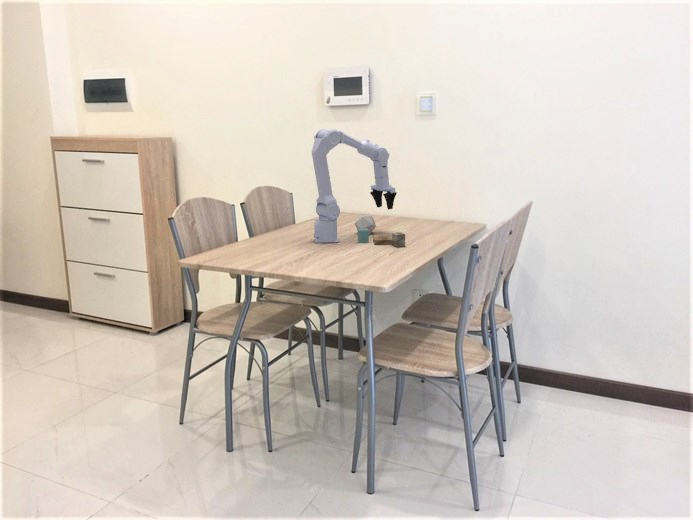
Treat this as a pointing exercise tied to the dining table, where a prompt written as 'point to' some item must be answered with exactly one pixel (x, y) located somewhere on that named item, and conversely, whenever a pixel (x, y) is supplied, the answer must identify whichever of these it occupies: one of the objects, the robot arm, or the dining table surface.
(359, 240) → the teal block
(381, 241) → the walnut slab
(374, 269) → the dining table surface
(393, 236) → the grey block
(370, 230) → the die
